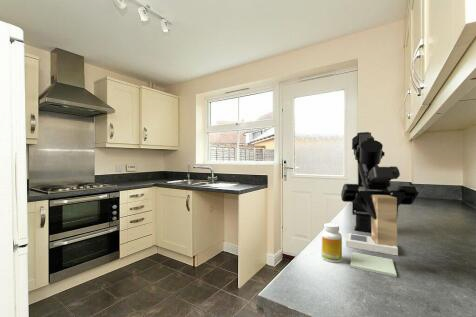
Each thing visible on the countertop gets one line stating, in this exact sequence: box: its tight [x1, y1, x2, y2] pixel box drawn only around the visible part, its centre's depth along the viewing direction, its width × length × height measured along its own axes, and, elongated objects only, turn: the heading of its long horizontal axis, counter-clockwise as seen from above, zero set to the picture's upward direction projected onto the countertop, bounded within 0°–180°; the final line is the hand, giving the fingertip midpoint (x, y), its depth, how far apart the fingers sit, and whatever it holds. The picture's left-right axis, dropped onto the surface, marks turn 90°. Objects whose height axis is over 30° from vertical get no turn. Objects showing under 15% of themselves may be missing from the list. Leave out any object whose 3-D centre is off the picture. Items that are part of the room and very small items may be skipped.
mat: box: [350, 251, 398, 278], centre depth 61 cm, size 10×10×1 cm
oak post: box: [371, 195, 398, 247], centre depth 61 cm, size 4×4×12 cm
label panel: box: [345, 232, 399, 256], centre depth 74 cm, size 9×14×2 cm, turn 61°
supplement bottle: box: [321, 222, 343, 263], centre depth 64 cm, size 5×5×10 cm
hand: (385, 219), depth 60 cm, fingers closed on oak post, 4 cm apart
